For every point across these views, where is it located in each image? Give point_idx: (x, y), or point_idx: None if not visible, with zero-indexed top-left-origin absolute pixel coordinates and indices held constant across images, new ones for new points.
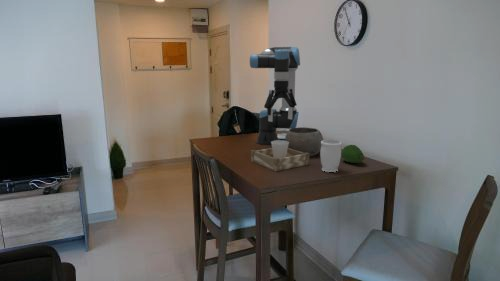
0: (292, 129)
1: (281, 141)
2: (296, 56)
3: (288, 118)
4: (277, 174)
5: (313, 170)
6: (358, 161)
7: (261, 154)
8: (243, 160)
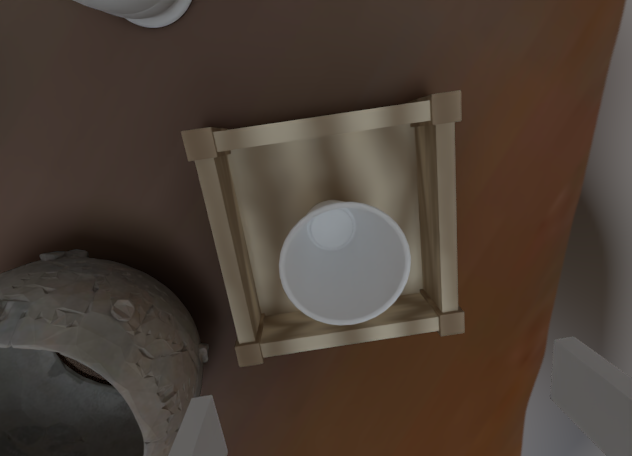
0: None
1: (305, 306)
2: None
3: (224, 448)
4: (450, 50)
5: (238, 23)
6: None
7: (455, 245)
8: None
